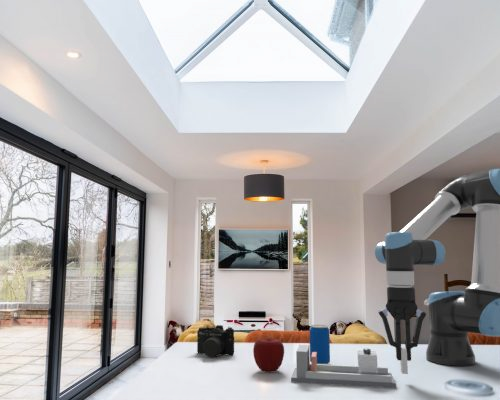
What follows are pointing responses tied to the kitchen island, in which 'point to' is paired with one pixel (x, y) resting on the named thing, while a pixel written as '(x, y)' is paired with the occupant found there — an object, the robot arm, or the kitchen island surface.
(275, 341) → the apple
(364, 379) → the base
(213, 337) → the camera
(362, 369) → the white cube with knob
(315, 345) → the beverage can
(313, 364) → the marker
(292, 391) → the kitchen island surface
